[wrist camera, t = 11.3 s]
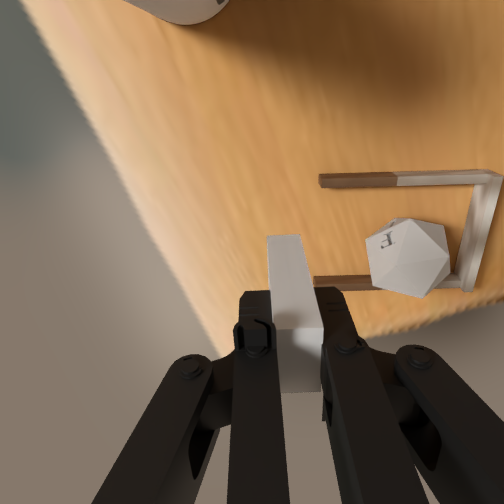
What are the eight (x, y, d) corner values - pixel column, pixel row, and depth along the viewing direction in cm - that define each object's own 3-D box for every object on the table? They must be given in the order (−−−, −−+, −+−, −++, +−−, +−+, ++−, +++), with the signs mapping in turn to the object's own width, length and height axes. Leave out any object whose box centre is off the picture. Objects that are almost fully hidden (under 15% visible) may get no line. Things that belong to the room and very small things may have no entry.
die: (435, 198, 44) (415, 205, 36) (472, 268, 43) (460, 292, 35) (369, 230, 49) (339, 242, 41) (401, 293, 48) (377, 319, 40)
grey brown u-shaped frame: (318, 173, 42) (323, 181, 39) (487, 169, 42) (503, 176, 39) (313, 283, 48) (317, 296, 46) (459, 279, 48) (472, 291, 45)
